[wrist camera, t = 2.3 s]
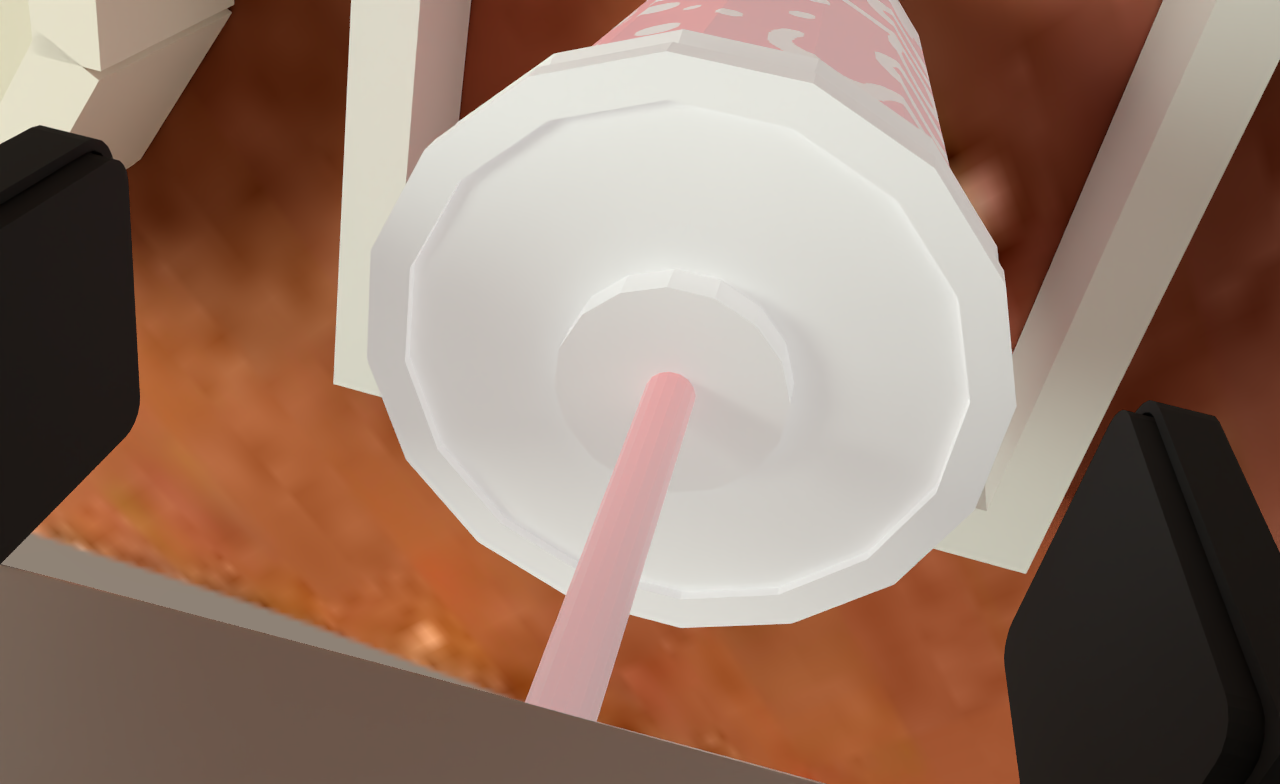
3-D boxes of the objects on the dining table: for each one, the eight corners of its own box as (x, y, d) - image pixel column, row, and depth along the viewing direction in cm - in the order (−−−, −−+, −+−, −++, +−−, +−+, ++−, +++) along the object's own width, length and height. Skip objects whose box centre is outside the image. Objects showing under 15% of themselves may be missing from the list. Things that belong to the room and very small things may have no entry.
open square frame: (1358, -253, 15) (1427, -240, 13) (1016, 488, 21) (1025, 573, 19) (443, -456, 16) (373, -473, 14) (386, 318, 22) (333, 383, 20)
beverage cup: (1027, 200, 19) (1204, 1110, 7) (675, 311, 21) (362, 1135, 9) (903, -198, 16) (855, 179, 4) (519, -22, 18) (-184, 531, 7)
